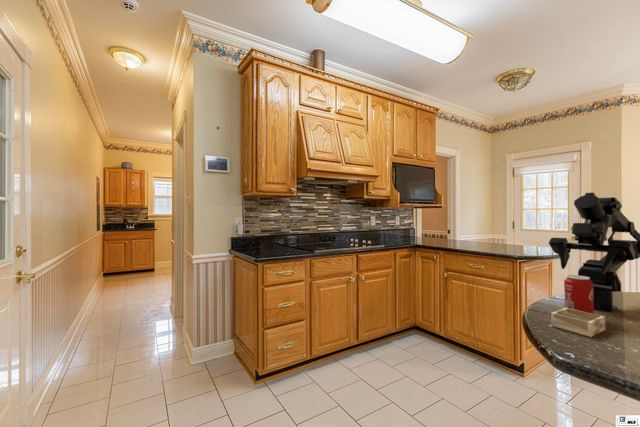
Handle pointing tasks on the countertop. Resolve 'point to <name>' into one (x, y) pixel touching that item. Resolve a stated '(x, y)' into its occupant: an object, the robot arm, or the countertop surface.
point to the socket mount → (578, 321)
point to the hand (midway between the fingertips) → (581, 270)
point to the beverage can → (579, 293)
